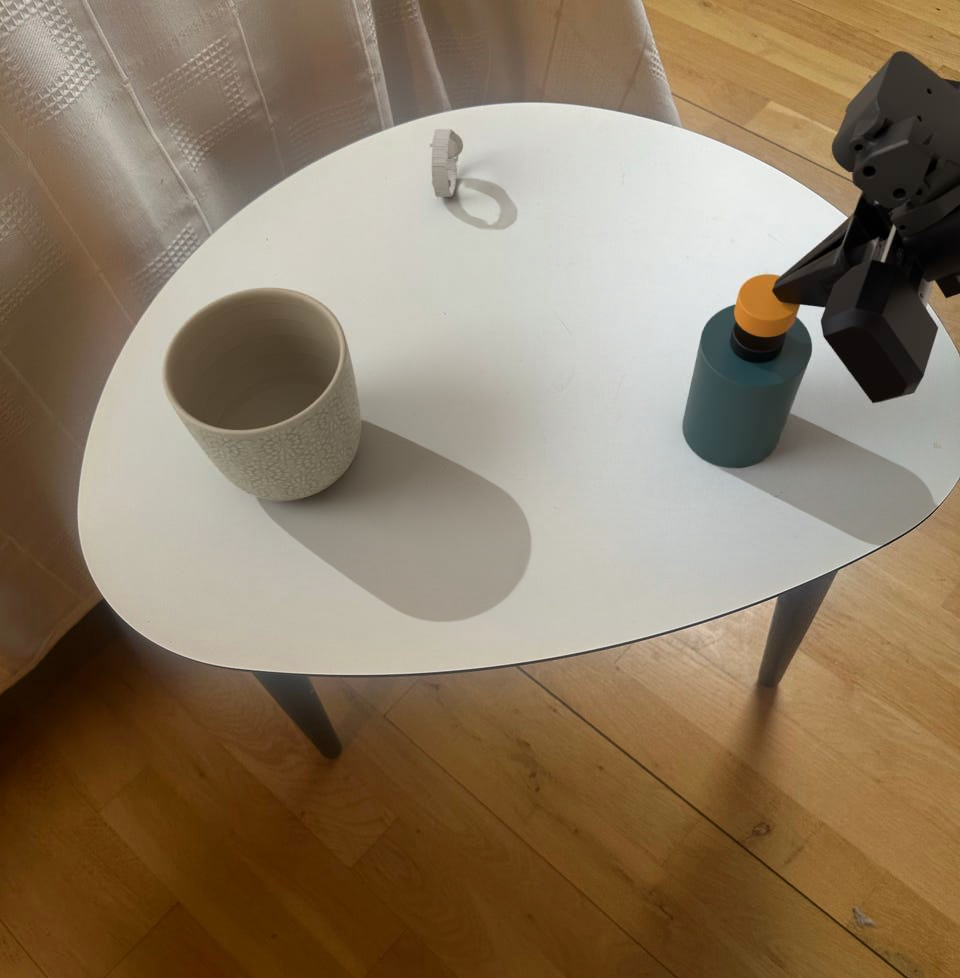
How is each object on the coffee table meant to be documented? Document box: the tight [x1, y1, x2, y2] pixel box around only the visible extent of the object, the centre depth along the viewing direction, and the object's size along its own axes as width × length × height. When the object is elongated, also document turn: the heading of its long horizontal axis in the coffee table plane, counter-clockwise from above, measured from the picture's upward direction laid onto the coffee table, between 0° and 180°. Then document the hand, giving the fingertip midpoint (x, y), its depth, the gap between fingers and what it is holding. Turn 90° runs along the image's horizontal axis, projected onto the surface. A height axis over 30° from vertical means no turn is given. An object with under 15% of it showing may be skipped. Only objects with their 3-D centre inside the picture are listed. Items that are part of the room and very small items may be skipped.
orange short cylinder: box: [734, 273, 801, 337], centre depth 56 cm, size 4×4×2 cm
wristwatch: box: [429, 128, 464, 198], centre depth 78 cm, size 3×5×5 cm, turn 174°
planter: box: [161, 287, 362, 502], centre depth 64 cm, size 12×12×11 cm
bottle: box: [681, 303, 813, 469], centre depth 63 cm, size 7×7×10 cm
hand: (776, 291), depth 55 cm, fingers closed
